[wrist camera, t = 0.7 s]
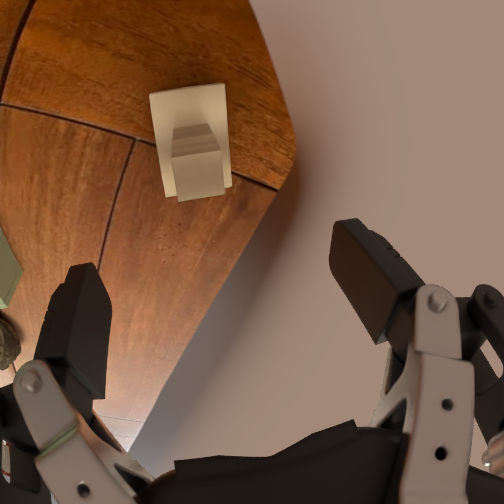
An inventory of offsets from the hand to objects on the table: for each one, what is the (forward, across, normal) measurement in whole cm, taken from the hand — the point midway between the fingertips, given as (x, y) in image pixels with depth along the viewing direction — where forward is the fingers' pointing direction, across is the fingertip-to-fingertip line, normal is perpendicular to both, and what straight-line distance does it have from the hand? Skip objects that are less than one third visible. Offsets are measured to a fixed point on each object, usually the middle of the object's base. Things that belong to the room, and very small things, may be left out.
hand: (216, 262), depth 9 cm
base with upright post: (+17, 0, 0) cm, 17 cm away
